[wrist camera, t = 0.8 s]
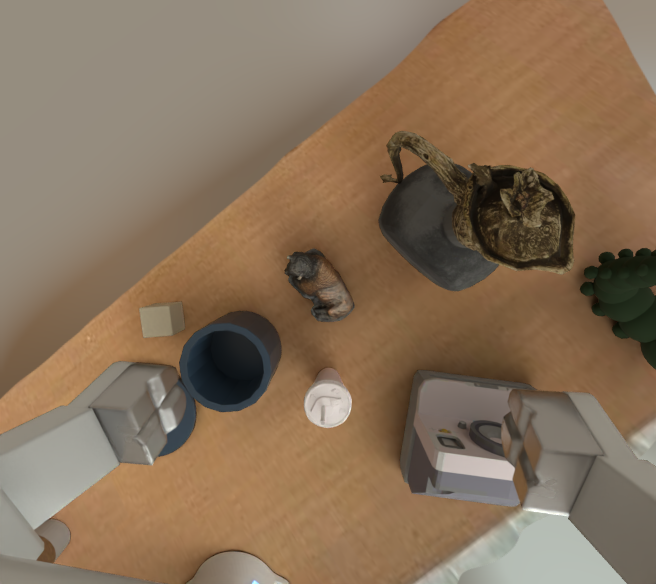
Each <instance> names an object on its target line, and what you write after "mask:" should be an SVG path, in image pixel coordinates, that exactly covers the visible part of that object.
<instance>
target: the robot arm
mask: <svg viewBox="0 0 656 584" xmlns="http://www.w3.org/2000/svg"><path fill="white" fill-rule="evenodd" d="M178 379H179V375H178V372H177V370H176V368H175V367H173V366H170V365H161V364H150V363H139V362H136V363H134V362H125V361H119V362H115V363H113V364H112V365H110V366H109V367H108V368H107V369H106V370H105V371H104V372H103V373H102V374H101V375H100V376H99V377H98V378H97V379H95V380H94V381H93V382H92V383H91V384H90V385H89V386H88V387H87V388H86V389H85V390H84V391H83V392H82V393H80V394H79V395H78V396H77V397H76V398H75V399H74V400H73V401H72V402H71V403H70V404H69V405H68V406H60V407H57V408H55V409H53V410H51V411H49V412H47V413H45V414H43V415H41V416H38V417H36V418H34V419H32V420H30V421H28V422H26V423H24V424H22V425H20V426H17V427H15V428H13V429H11V430H9V431H7V432H5V433H3V434H1V435H0V584H166V583H160V582H155V581H149V580H144V579H138V578H132V577H127V576H121V575H115V574H110V573H104V572H98V571H93V570H87V569H81V568H76V567H70V566H64V565H59V564H53V563H48V562H42V561H36V560H37V558H38V557H39V556H40V555H41V553H42V552H43V551H44V542H43V541H42V539H41V538H40V537H39V536H38V534H37V533H36V532H35V531H34V530H35V529H36V528H37V527H39V526H40V525H41V524H43V523H44V522H45V521H47V520H48V519H49V518H50V517H52V516H53V515H54V514H56V513H57V512H58V511H60V510H61V509H62V508H64V507H65V506H66V505H67V504H69V503H70V502H71V501H73V500H74V499H75V498H77V497H78V496H79V495H81V494H82V493H83V492H84V491H86V490H87V489H88V488H90V487H91V486H92V485H94V484H95V483H96V482H98V481H99V480H100V479H101V478H103V477H104V476H105V475H107V474H108V473H109V472H111V471H112V470H113V469H115V468H116V467H117V466H118V465H120V463H132V464H143V465H152V464H153V463H154V461H155V460H156V458H157V457H158V455H159V454H160V452H161V451H162V449H163V448H164V446H165V445H166V443H167V433H169V432H170V431H172V430H173V429H175V428H177V426H178V425H179V423H180V422H181V420H182V418H183V416H184V412H185V409H186V396H185V393H184V390H183V389H181V388H180V387H179V386H178V385H177V384H176V383H177V381H178ZM507 403H508V405H509V408H510V412H509V413H507V414H506V415H505V416H503V421H502V426H501V441H502V446H503V451H504V454H505V458H506V460H507V461H508V462H509V463H510V464H511V465H512V466H513V467H514V468H515V471H514V474H513V478H512V480H513V483H514V486H515V489H516V492H517V495H518V498H519V501H520V504H521V507H522V510H529V511H536V512H543V513H550V514H557V515H563V516H569V518H568V519H569V520H570V521H571V522H572V523H573V524H574V526H575V527H576V528H577V529H578V530H579V531H580V532H581V533H582V534H583V535H584V537H585V538H586V539H587V540H588V541H589V542H590V543H591V544H592V545H593V547H595V549H596V550H597V551H598V552H599V553H600V554H601V555H602V557H603V558H604V559H605V560H606V561H607V562H608V563H609V564H610V565H611V566H612V568H613V569H614V570H615V571H616V572H617V573H618V574H619V575H620V576H621V577H622V579H623V580H624V581H625V582H626V583H627V584H656V466H655V465H653V464H651V463H650V462H649V461H647V460H638V458H637V457H636V455H635V454H634V453H633V451H632V450H631V448H630V447H629V445H628V444H627V443H626V441H625V440H624V438H623V437H622V435H621V434H620V433H619V431H618V430H617V428H616V427H615V425H614V424H613V423H612V421H611V420H610V418H609V417H608V415H607V414H606V412H605V411H604V410H603V408H602V407H601V405H600V404H599V402H598V401H597V400H596V398H595V397H594V396H593V395H591V394H590V393H581V392H556V391H540V390H524V389H512V391H511V392H510V393H509V397H508V401H507ZM119 462H120V463H119ZM186 584H289V582H288V581H287V580H286V579H284V578H282V577H280V576H278V575H276V574H275V573H273V572H272V571H271V570H270V568H269V567H268V566H267V565H266V564H265V563H264V562H262V561H261V560H260V559H258V558H256V557H255V556H252V555H250V554H247V553H243V552H235V551H232V552H223V553H220V554H217V555H214V556H212V557H211V558H209V559H208V560H206V561H205V562H204V563H203V564H202V565H201V566H200V568H199V569H198V571H197V573H196V574H195V576H194V578H193V579H192V580H190V581H189V582H187V583H186Z"/></svg>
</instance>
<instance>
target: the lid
mask: <svg viewBox="0 0 656 584" xmlns="http://www.w3.org/2000/svg"><path fill="white" fill-rule="evenodd" d="M176 384H177V385H178V386H179V387H180V388H181V389H183V390H184V393H185V396H186V409H185V412H184V416H183V418H182V420H181V422H180V423H179V425H178V426H177V428H175V429H173V430H172V431H170V432H169V433H167V443H166V445H165V446H164V448H163V449H162V451H161V452H160V454H159V455H158V457H160V456H164V455H167V454H170V453H172V452H174V451H175V450H177V449H178V448H180V447H181V446H182V445H183V444H184V443H185V442H186V440H187V439H188V438H189V436H190V435H191V433H192V431H193V429H194V426H195V422H196V405H195V401H194V398H193V397H192V396H191V395H190V394H189V392H188V390H187V389H186V387H185V385H184V383H183V382H182V380H181V379H180V378H179V379H178V381H177V383H176Z"/></svg>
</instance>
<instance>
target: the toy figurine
mask: <svg viewBox="0 0 656 584" xmlns="http://www.w3.org/2000/svg"><path fill="white" fill-rule="evenodd" d="M635 255H636V256H634V257H633V252H632V251H631V250H630V249H622V250H621V251H620V252H619V253H618V256H619V258H618V259H615V256H614V255H613V254H612V253H611V252H604V253H601V254H600V256H599V262H600V263H601V264H602V265H600V266H599V267H598V268H597V267H595V266H590V267H587V268H586V269H585V270H584V275H585V277H586V278H589V279H593V278H595V280H594V282H585V283H584V284H582V285H581V287H580V291H581V293H583V294H584V295H586V296H592V295H593V294H595V295H596V296H597V297H598V298H599V299H598V301H599V303H596V304H594V305H593V306H592V311H593V313H594V314H596V315H598V316H604V315H606V316H608V317H609V318H611V319H613V320H616V321H618V322H617V323H616V324H615V325H614V326H613V328H612V331H613V333H614V334H615V336H617V337H619V338H621V339H623V338H629V337H630V338H632V339H634V340H637V341H639V342H641V349H642V353H643V355H644V357H645V359H646V360H647V362H648V363H649V364H650V365H651V366H652V367H653V368H654V369H656V295H654V294H653V292H652V291H651V289H650V288H649V287H651V286H654V285H656V250H654V251H653V252H651V251H650V249H647V248H642V249H640V250H638V251H637V252H636V254H635Z"/></svg>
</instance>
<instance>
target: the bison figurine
mask: <svg viewBox="0 0 656 584" xmlns="http://www.w3.org/2000/svg"><path fill="white" fill-rule="evenodd" d="M287 259H290V262H289V263H288V264H287V268H286V269H285V274H286V275H288V276H289V279H288V281H289V283H290V284H291V285H292V286H293V287H294V288H295V289H296V290H297V291H298V292H299V293H300V294H301V295H302V296H303V297H304V298H307V299H311V301H312V302H313V303H314V306H313V307H312V309H311V313H312V315H313V316H314V317H315V318H316V320H318V321H321V322H334V321H340V320H342V319H344V318H345V317H347V316H348V315H349V314H350V313H351V312H352V311H353V309H354V303H353V300H352V298H351V296H350V294H349V291H348V290H347V288H346V286H345V284H344V282H343V280H342V278H341V276H340V274H339V273H338V272H337V271H336V270H335V269H334V267H333V266H332V264H331V263H330V262H329V261H328V260H327V259H326V258H325V257H324V255H323V254H322V253H321V252H320V251H318V250H317V249H315V248H313V249H311V250H309V251H307V252H305V253H303V252H294V253H293V255H289V256H287Z"/></svg>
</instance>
